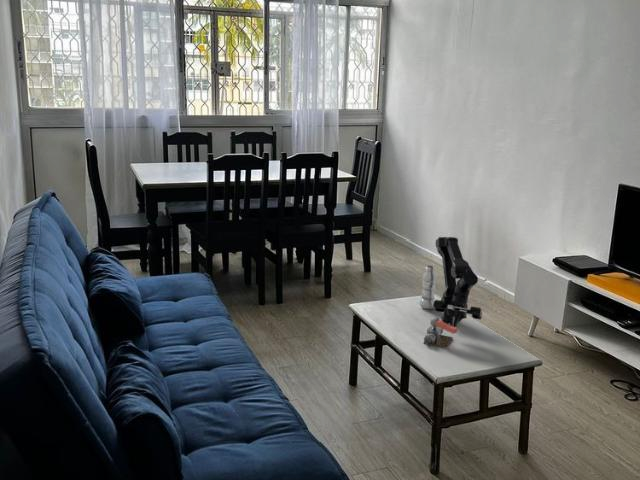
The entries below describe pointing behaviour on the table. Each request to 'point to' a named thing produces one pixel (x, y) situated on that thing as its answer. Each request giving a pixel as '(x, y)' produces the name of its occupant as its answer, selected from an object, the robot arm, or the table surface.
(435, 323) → the lever
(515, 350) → the table surface
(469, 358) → the table surface
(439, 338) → the valve
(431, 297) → the plastic bottle
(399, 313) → the table surface
